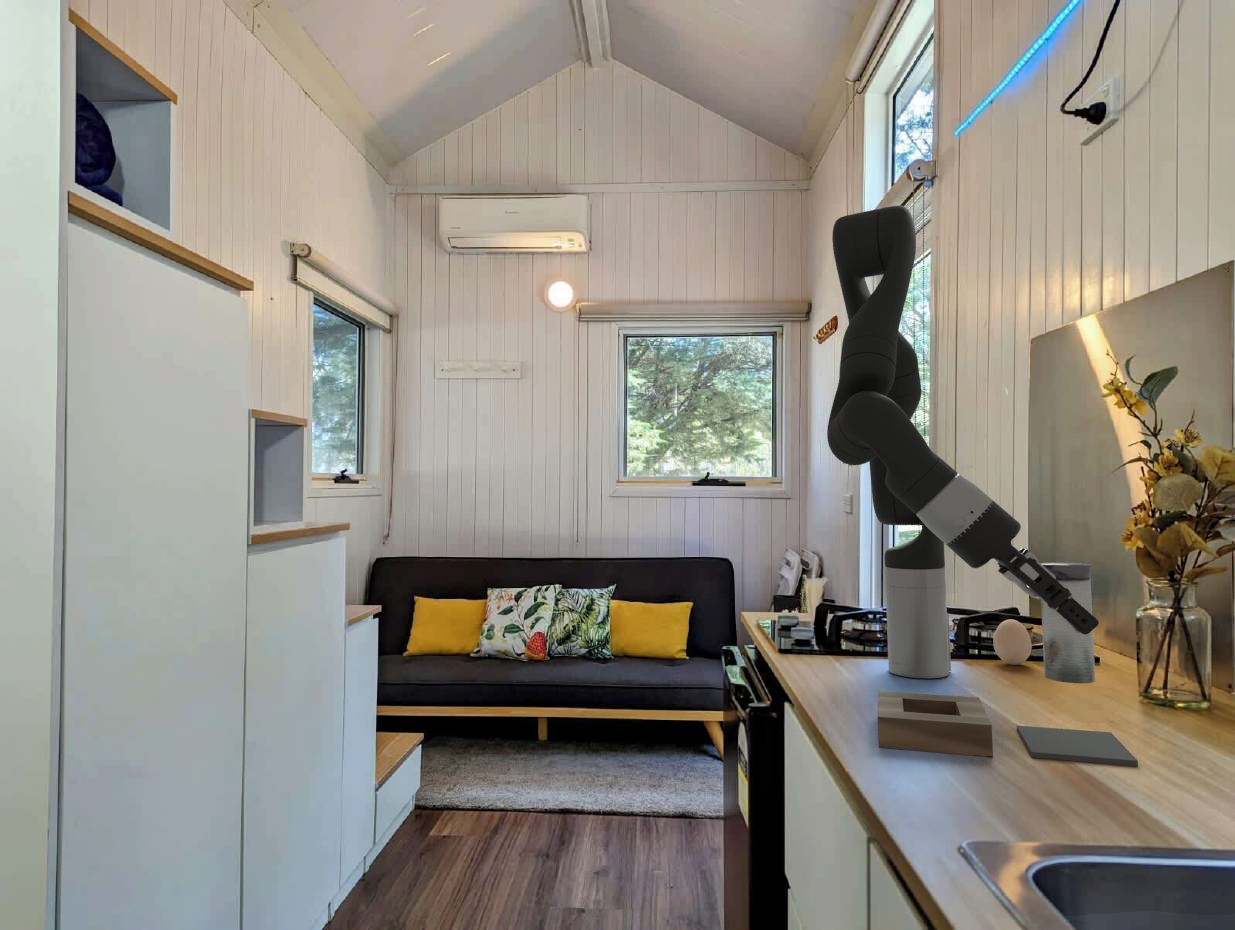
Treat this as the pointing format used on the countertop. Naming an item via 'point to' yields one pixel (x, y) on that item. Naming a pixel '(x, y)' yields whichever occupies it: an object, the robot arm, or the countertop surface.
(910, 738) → the walnut holder
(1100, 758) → the rubber mat
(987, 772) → the countertop surface
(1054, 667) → the grey lidded canister
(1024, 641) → the egg
